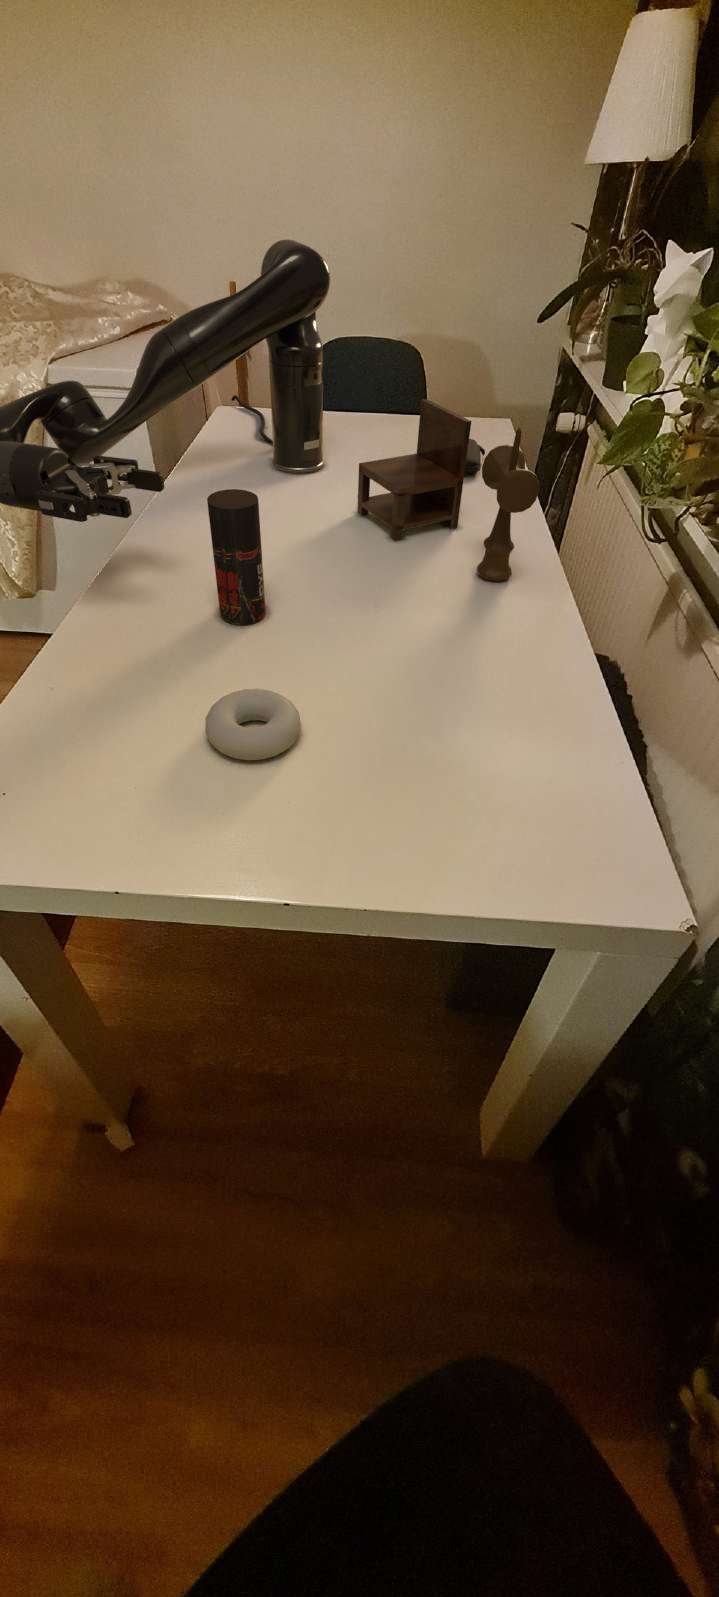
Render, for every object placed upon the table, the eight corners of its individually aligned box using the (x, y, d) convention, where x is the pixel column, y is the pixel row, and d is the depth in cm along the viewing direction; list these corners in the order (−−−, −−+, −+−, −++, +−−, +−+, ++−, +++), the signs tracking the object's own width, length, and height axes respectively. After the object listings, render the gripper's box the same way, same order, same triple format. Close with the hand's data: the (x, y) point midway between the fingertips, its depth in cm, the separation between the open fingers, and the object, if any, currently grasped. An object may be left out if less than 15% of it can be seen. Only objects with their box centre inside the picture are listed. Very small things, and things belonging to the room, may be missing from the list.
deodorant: (221, 602, 95) (208, 488, 85) (265, 602, 96) (258, 488, 85) (218, 625, 91) (205, 508, 80) (265, 625, 91) (257, 508, 81)
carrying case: (485, 480, 131) (483, 453, 141) (487, 462, 129) (485, 436, 139) (427, 475, 131) (430, 449, 142) (429, 458, 129) (431, 432, 140)
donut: (278, 777, 71) (315, 719, 77) (276, 751, 68) (315, 693, 75) (189, 754, 73) (232, 698, 80) (184, 728, 70) (229, 673, 77)
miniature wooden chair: (357, 513, 118) (360, 407, 107) (417, 501, 123) (426, 398, 111) (395, 541, 111) (403, 431, 100) (457, 527, 115) (471, 420, 104)
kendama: (506, 560, 107) (533, 416, 93) (521, 591, 100) (553, 440, 86) (467, 560, 107) (488, 415, 93) (479, 591, 100) (505, 439, 86)
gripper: (66, 487, 95) (176, 504, 93) (1, 529, 85) (123, 549, 83) (51, 427, 90) (168, 443, 88) (-20, 464, 80) (110, 483, 78)
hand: (146, 494), depth 85 cm, fingers open, 8 cm apart
